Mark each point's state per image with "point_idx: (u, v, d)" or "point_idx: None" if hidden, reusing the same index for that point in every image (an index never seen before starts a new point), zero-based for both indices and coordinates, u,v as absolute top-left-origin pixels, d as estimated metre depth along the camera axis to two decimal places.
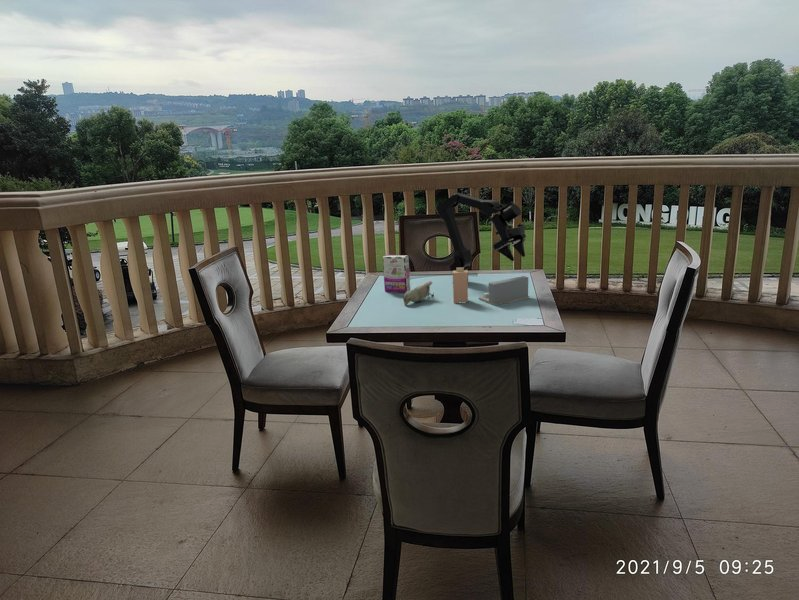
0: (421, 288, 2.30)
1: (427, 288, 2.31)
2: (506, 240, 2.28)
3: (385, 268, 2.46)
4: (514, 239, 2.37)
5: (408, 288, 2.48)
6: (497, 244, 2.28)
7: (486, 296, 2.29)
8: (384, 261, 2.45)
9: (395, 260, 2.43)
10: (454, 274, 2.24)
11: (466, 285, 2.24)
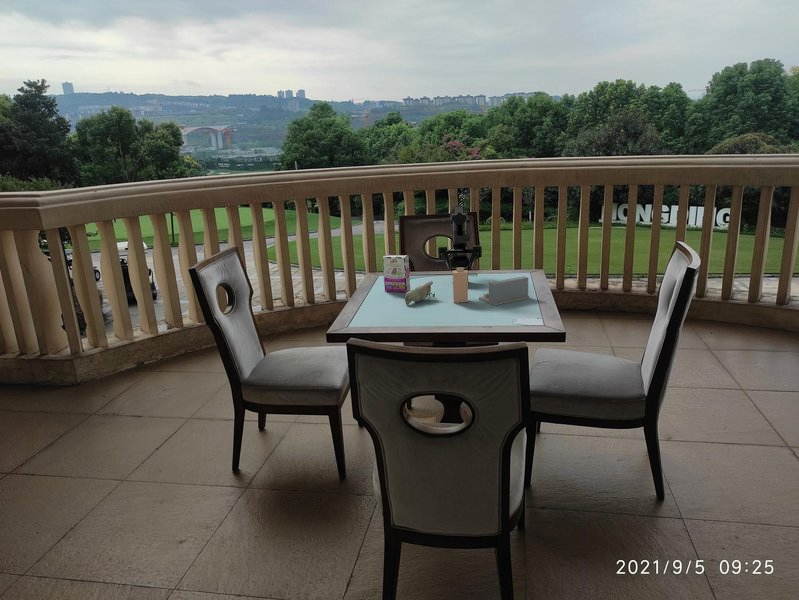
0: (422, 288, 2.30)
1: (428, 288, 2.31)
2: (443, 248, 2.33)
3: (385, 268, 2.46)
4: (467, 251, 2.34)
5: (408, 288, 2.48)
6: None
7: (486, 296, 2.29)
8: (384, 261, 2.45)
9: (395, 260, 2.43)
10: (454, 274, 2.24)
11: (466, 285, 2.24)
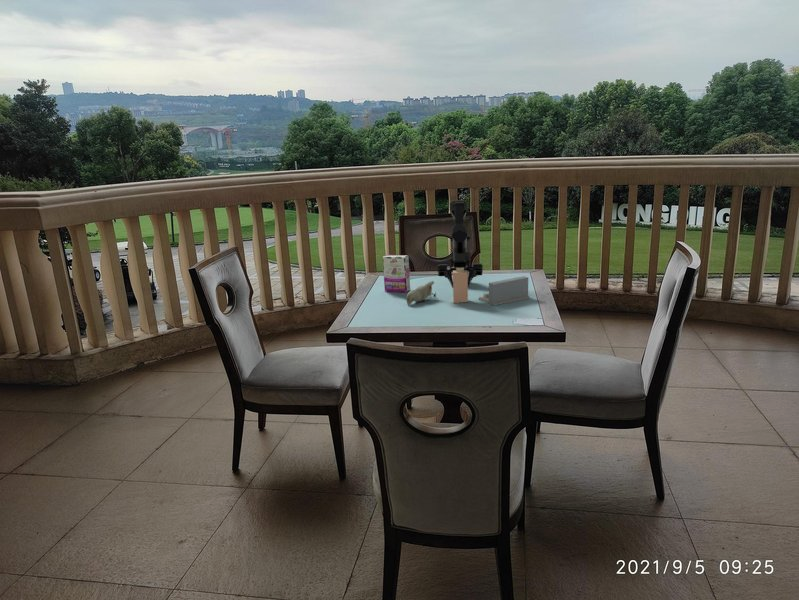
0: (423, 288, 2.30)
1: (429, 288, 2.32)
2: (443, 266, 2.28)
3: (385, 268, 2.46)
4: (464, 269, 2.29)
5: (408, 288, 2.48)
6: None
7: (486, 296, 2.29)
8: (384, 261, 2.45)
9: (395, 260, 2.43)
10: (454, 274, 2.24)
11: (466, 285, 2.24)
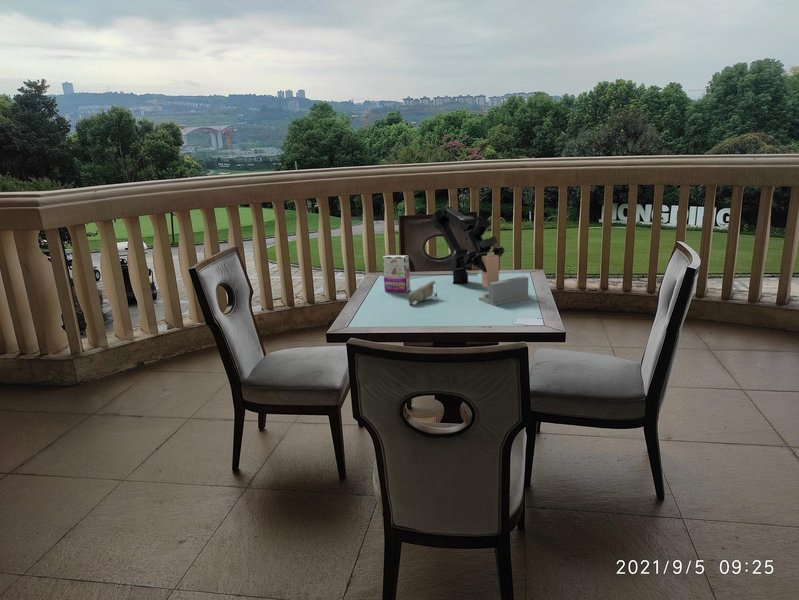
0: (425, 287, 2.30)
1: (431, 287, 2.32)
2: (473, 252, 2.31)
3: (385, 268, 2.46)
4: None
5: (408, 288, 2.48)
6: (465, 257, 2.33)
7: (486, 296, 2.29)
8: (384, 261, 2.45)
9: (395, 260, 2.43)
10: (488, 259, 2.30)
11: (497, 268, 2.34)
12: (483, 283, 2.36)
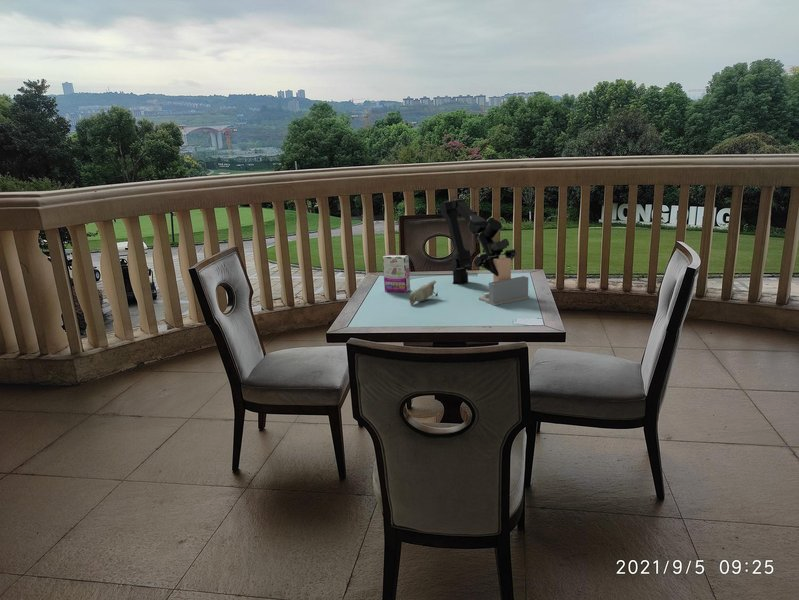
0: (426, 287, 2.30)
1: (432, 287, 2.32)
2: (485, 255, 2.24)
3: (385, 268, 2.46)
4: None
5: (408, 288, 2.48)
6: (476, 260, 2.26)
7: (486, 296, 2.29)
8: (384, 261, 2.45)
9: (395, 260, 2.43)
10: (500, 262, 2.23)
11: (509, 271, 2.26)
12: None
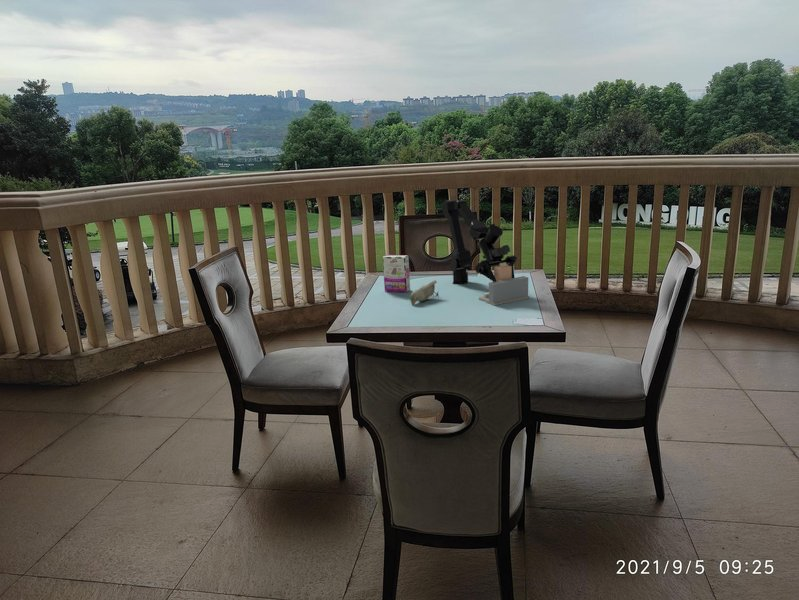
0: (427, 287, 2.30)
1: (432, 287, 2.32)
2: (485, 262, 2.25)
3: (385, 268, 2.46)
4: (503, 262, 2.31)
5: (408, 288, 2.48)
6: (477, 266, 2.26)
7: (486, 296, 2.29)
8: (384, 261, 2.45)
9: (395, 260, 2.43)
10: (501, 269, 2.24)
11: None
12: None
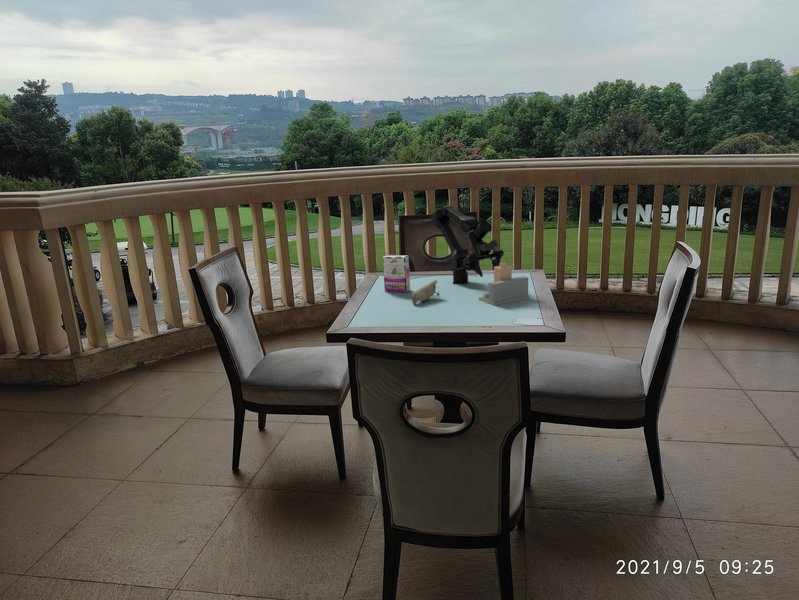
0: (428, 287, 2.31)
1: (433, 287, 2.33)
2: (473, 256, 2.32)
3: (385, 268, 2.46)
4: (490, 256, 2.39)
5: (408, 288, 2.48)
6: (465, 260, 2.34)
7: (486, 296, 2.29)
8: (384, 261, 2.45)
9: (395, 260, 2.43)
10: (501, 269, 2.24)
11: None
12: None
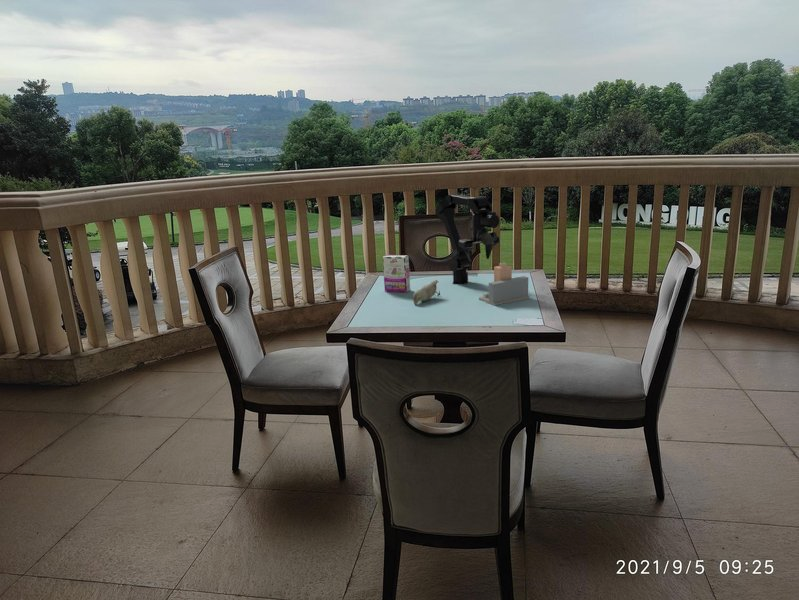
0: (429, 287, 2.31)
1: (434, 287, 2.33)
2: (470, 244, 2.35)
3: (385, 268, 2.46)
4: None
5: (408, 288, 2.48)
6: (461, 243, 2.37)
7: (486, 296, 2.29)
8: (384, 261, 2.45)
9: (395, 260, 2.43)
10: (501, 269, 2.24)
11: None
12: None
